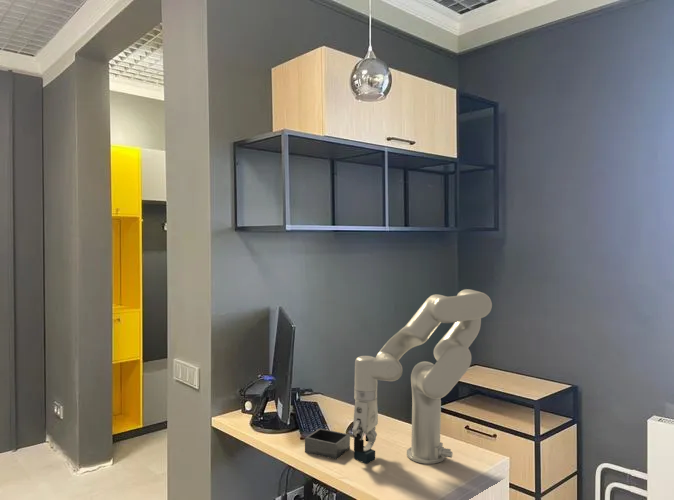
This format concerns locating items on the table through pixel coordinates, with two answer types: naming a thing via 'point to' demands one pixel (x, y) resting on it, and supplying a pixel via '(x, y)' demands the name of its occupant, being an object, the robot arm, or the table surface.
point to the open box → (327, 443)
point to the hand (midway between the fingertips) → (364, 446)
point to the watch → (367, 448)
